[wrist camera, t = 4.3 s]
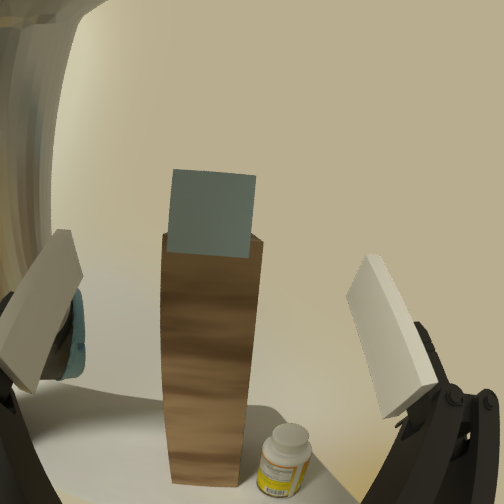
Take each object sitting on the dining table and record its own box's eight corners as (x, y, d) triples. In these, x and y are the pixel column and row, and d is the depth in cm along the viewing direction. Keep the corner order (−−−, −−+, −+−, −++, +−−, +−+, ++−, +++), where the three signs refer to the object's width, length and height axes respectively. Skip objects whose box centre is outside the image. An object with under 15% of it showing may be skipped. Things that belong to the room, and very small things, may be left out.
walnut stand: (237, 487, 27) (263, 241, 24) (172, 483, 26) (162, 234, 23) (232, 438, 37) (251, 232, 33) (178, 434, 36) (180, 227, 32)
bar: (248, 258, 14) (256, 175, 14) (166, 251, 14) (173, 169, 13) (232, 229, 36) (235, 196, 36) (199, 227, 36) (202, 194, 35)
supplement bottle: (287, 467, 32) (301, 414, 30) (307, 493, 26) (326, 442, 25) (249, 476, 30) (256, 423, 28) (265, 506, 24) (278, 456, 23)
